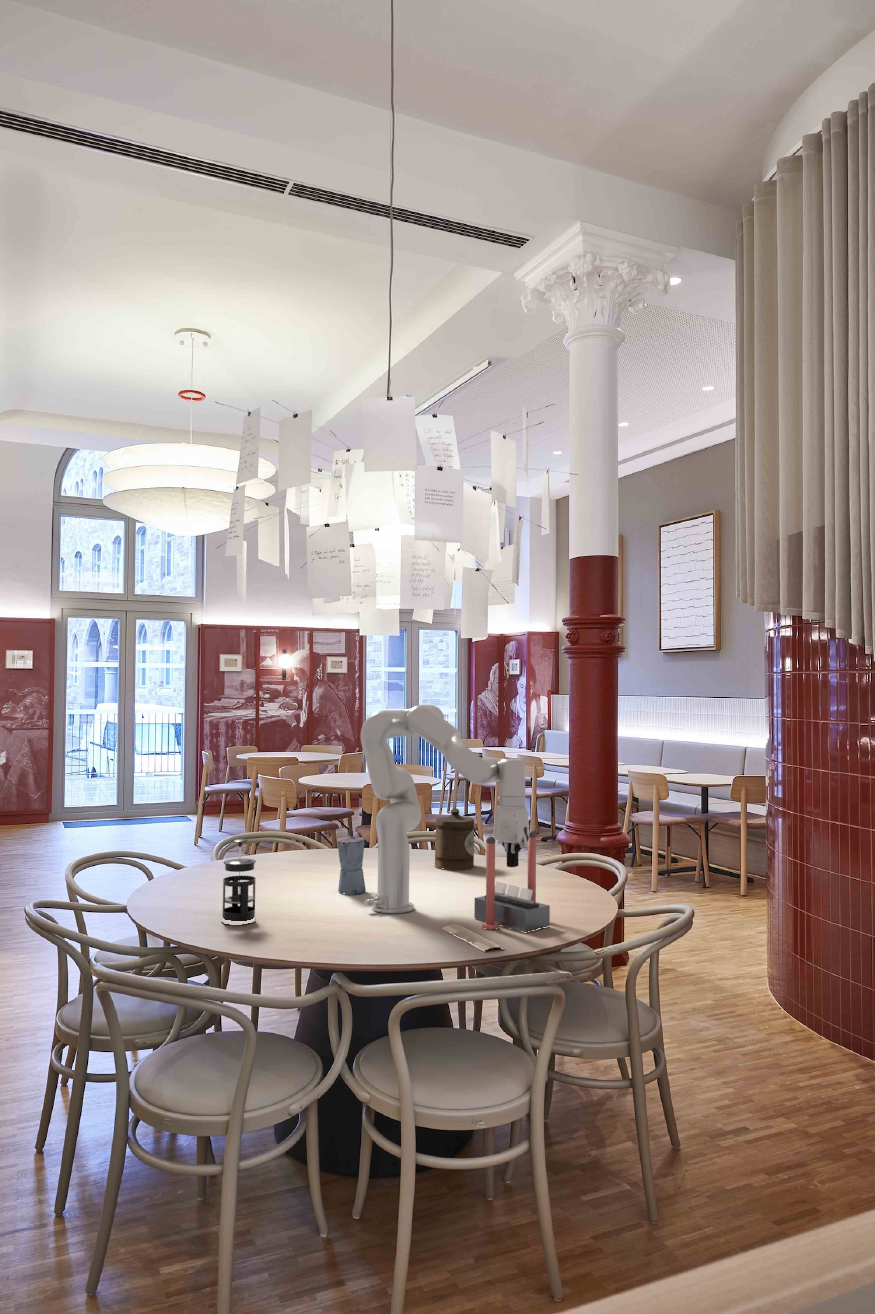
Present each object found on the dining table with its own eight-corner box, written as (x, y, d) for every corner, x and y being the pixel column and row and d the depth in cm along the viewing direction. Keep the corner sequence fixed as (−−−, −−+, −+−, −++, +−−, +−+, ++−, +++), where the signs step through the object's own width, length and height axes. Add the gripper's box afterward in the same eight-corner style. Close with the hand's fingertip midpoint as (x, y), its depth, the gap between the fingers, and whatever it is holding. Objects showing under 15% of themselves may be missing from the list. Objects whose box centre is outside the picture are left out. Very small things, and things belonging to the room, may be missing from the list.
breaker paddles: (530, 903, 238) (533, 890, 239) (489, 893, 250) (492, 880, 251) (533, 904, 238) (536, 891, 239) (492, 894, 250) (496, 881, 251)
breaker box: (525, 933, 233) (525, 908, 233) (474, 918, 248) (474, 895, 248) (549, 927, 240) (549, 903, 240) (498, 913, 255) (498, 890, 255)
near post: (490, 931, 235) (490, 838, 236) (479, 927, 238) (479, 836, 240) (501, 928, 238) (501, 836, 239) (490, 925, 241) (490, 834, 242)
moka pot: (329, 895, 275) (330, 833, 276) (346, 885, 290) (346, 826, 291) (357, 897, 273) (358, 834, 274) (372, 887, 288) (373, 827, 289)
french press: (217, 918, 245) (219, 837, 246) (249, 915, 250) (251, 835, 251) (227, 928, 235) (229, 844, 236) (261, 924, 239) (262, 841, 240)
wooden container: (477, 870, 319) (477, 810, 320) (437, 870, 317) (438, 811, 318) (470, 862, 334) (470, 805, 335) (432, 863, 332) (433, 806, 333)
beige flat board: (504, 952, 217) (504, 945, 218) (480, 956, 214) (480, 949, 214) (461, 929, 239) (461, 923, 239) (438, 932, 235) (438, 926, 235)
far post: (532, 920, 246) (532, 832, 247) (520, 917, 250) (521, 830, 251) (542, 918, 249) (542, 830, 250) (531, 915, 252) (531, 829, 254)
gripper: (484, 800, 249) (484, 864, 248) (522, 805, 237) (522, 872, 236) (502, 798, 253) (503, 861, 252) (540, 803, 242) (541, 868, 241)
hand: (512, 866), depth 244 cm, fingers closed
